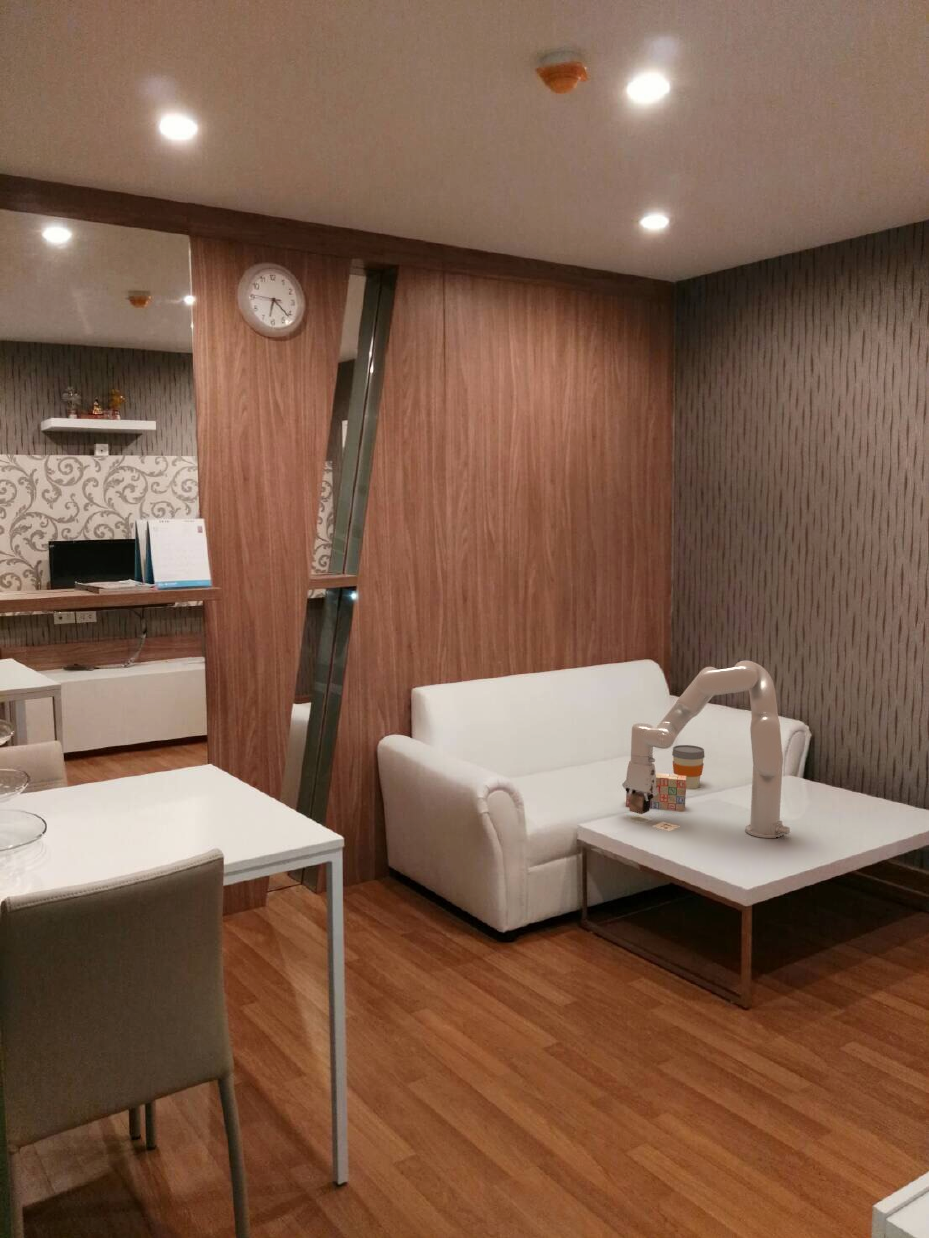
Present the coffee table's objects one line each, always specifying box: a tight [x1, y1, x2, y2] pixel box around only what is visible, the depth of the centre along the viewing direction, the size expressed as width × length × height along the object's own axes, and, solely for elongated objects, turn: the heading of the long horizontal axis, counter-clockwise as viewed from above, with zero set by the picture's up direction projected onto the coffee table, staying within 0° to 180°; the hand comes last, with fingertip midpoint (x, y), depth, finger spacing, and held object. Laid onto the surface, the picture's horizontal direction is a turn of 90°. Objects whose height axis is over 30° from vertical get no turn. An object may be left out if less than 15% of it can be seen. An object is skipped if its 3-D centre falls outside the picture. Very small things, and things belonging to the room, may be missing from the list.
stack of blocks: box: [625, 772, 687, 812], centre depth 372 cm, size 21×6×12 cm, turn 74°
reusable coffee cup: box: [671, 744, 705, 790], centre depth 400 cm, size 13×13×15 cm
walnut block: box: [628, 792, 650, 815], centre depth 357 cm, size 5×5×6 cm
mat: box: [626, 814, 681, 832], centre depth 354 cm, size 21×16×1 cm
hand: (639, 808), depth 357 cm, fingers closed on walnut block, 5 cm apart
